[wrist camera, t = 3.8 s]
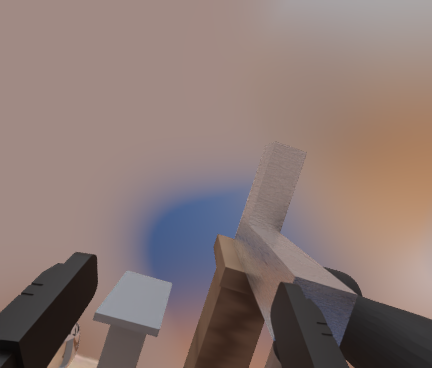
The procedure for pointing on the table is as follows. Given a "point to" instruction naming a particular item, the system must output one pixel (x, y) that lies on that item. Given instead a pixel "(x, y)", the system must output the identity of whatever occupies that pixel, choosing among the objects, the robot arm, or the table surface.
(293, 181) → the notched grey block
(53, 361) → the wineglass
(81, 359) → the table surface
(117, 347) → the grey pedestal column
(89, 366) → the table surface
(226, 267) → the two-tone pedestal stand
